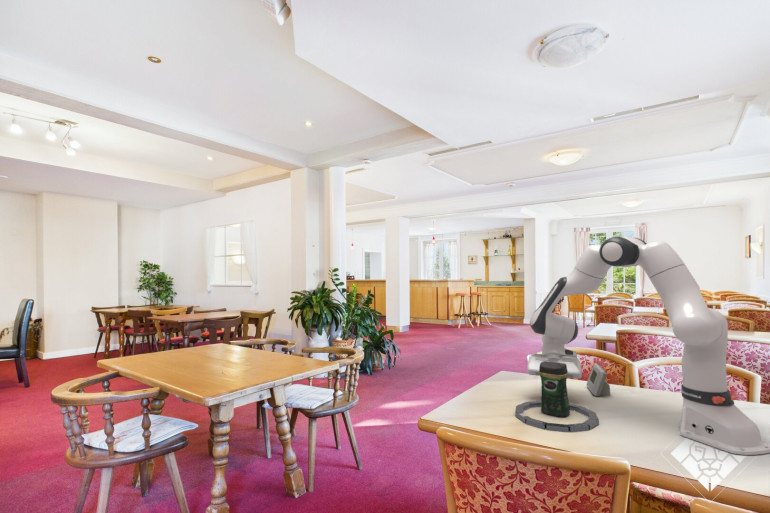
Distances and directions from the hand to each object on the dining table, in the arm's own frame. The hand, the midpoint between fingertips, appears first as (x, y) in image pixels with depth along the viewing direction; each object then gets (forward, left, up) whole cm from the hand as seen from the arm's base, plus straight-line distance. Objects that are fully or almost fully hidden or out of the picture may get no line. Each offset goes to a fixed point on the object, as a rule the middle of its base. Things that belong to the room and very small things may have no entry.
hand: (554, 385), depth 156 cm
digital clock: (+11, -27, -8) cm, 30 cm away
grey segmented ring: (-11, +7, -8) cm, 16 cm away
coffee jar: (-8, +5, -8) cm, 12 cm away
